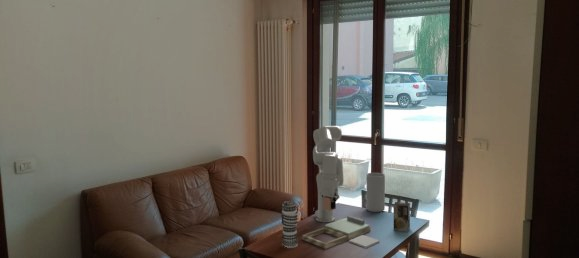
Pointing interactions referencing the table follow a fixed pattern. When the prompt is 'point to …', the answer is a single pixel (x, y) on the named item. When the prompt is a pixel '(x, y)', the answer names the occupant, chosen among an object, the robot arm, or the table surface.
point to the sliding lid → (348, 225)
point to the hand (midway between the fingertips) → (329, 207)
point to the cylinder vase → (375, 192)
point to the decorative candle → (289, 224)
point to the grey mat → (364, 241)
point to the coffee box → (401, 216)
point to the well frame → (341, 235)
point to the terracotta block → (327, 203)
